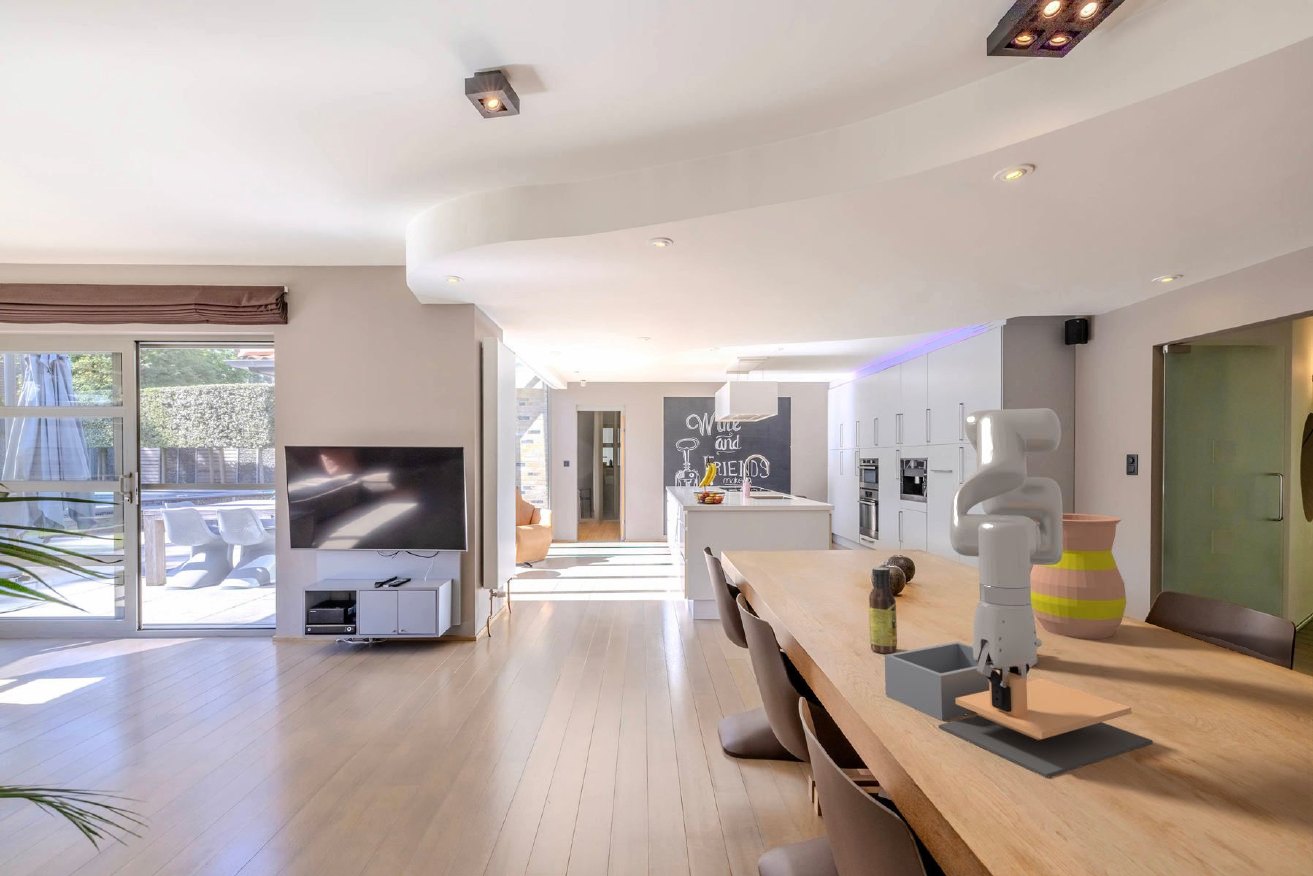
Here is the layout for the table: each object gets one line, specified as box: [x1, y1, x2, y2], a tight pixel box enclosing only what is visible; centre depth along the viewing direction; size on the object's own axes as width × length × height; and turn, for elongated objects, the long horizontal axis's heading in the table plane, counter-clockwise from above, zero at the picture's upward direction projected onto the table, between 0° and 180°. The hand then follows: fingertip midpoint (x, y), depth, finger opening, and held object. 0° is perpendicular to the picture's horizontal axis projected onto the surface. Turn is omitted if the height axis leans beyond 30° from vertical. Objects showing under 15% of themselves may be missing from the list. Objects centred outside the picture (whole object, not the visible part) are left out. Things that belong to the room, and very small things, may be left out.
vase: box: [1030, 513, 1127, 640], centre depth 177 cm, size 22×22×30 cm
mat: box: [938, 714, 1154, 778], centre depth 113 cm, size 26×20×1 cm
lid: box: [955, 670, 1132, 740], centre depth 113 cm, size 22×16×8 cm
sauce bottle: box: [868, 567, 898, 654], centre depth 163 cm, size 7×6×20 cm
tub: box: [884, 641, 1015, 721], centre depth 131 cm, size 20×14×8 cm
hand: (1008, 706), depth 110 cm, fingers closed on lid, 2 cm apart
